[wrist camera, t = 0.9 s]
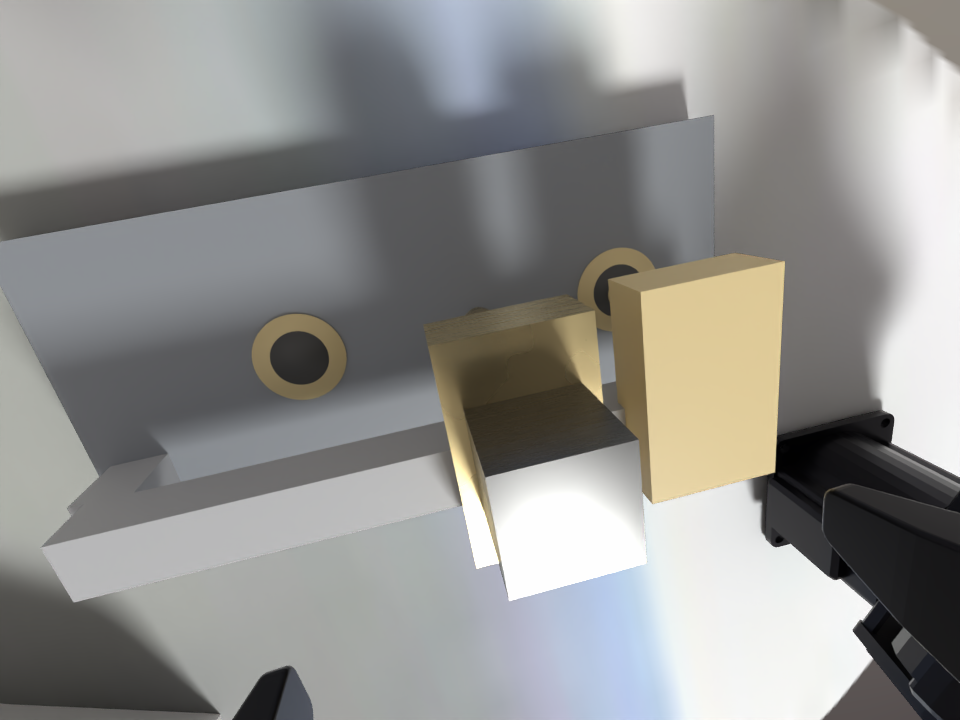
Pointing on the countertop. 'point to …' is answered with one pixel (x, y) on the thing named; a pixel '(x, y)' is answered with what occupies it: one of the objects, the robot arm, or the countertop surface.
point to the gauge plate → (381, 343)
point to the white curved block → (93, 714)
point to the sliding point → (538, 444)
